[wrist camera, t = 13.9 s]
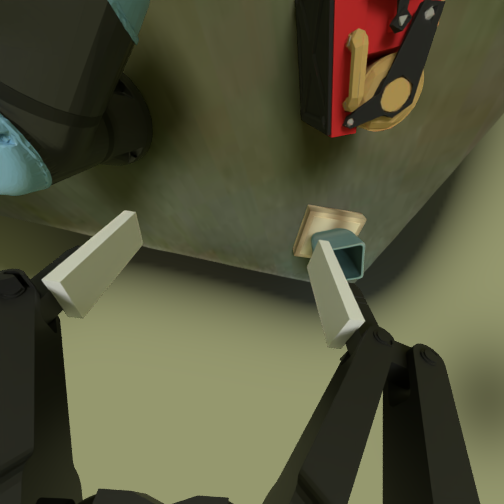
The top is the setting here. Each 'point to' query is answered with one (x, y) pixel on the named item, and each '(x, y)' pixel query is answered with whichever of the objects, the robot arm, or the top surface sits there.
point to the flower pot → (344, 250)
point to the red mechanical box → (362, 61)
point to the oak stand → (324, 226)
